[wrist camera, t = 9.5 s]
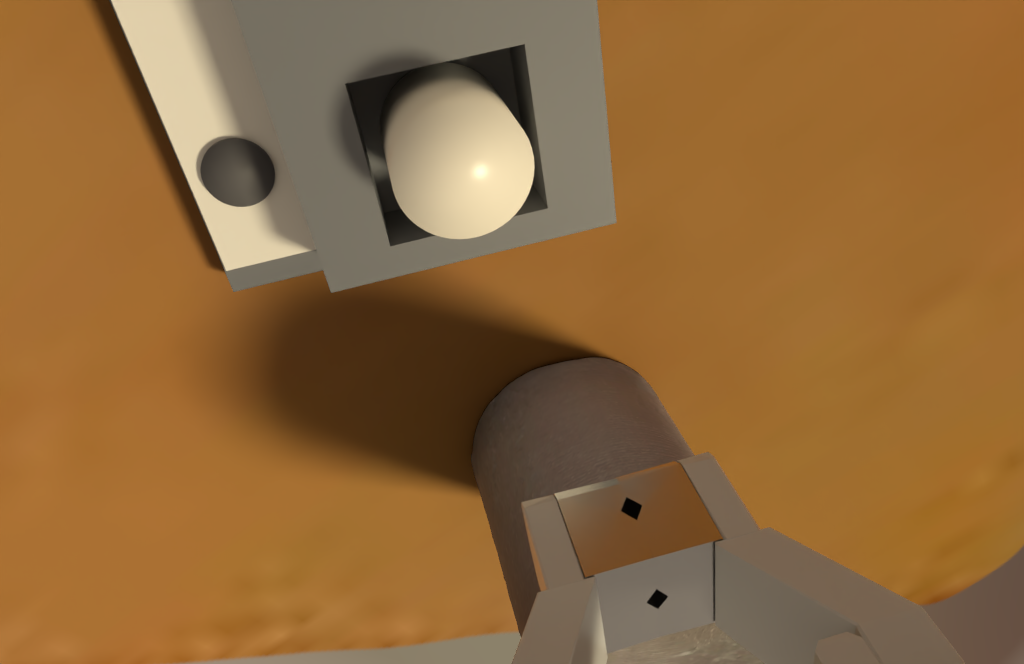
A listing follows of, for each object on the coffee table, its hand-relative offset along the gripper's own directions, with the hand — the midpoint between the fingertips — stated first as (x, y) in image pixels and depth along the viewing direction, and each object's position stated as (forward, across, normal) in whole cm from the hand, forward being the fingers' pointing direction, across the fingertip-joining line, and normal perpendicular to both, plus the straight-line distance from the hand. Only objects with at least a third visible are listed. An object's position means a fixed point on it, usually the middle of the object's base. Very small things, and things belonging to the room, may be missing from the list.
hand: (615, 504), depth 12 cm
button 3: (+18, 0, 0) cm, 18 cm away
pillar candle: (+20, -3, +17) cm, 27 cm away
